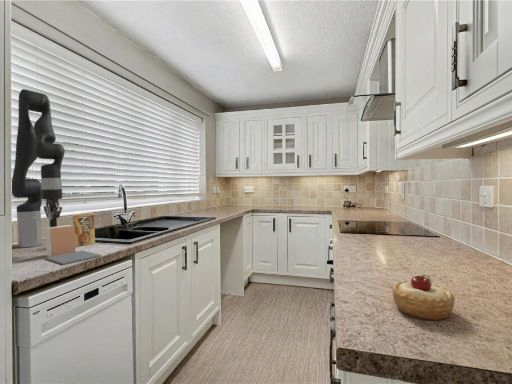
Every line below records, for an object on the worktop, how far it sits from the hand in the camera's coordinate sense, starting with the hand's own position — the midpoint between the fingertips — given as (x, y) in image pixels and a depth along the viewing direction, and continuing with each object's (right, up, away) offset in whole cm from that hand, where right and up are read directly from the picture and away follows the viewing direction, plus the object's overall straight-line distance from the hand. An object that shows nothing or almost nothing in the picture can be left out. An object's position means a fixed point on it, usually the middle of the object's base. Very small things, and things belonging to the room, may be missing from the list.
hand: (53, 227), depth 124 cm
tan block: (+6, -11, -3) cm, 13 cm away
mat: (+15, -11, -9) cm, 21 cm away
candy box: (+4, -11, +16) cm, 19 cm away
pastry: (+127, -11, -61) cm, 142 cm away
